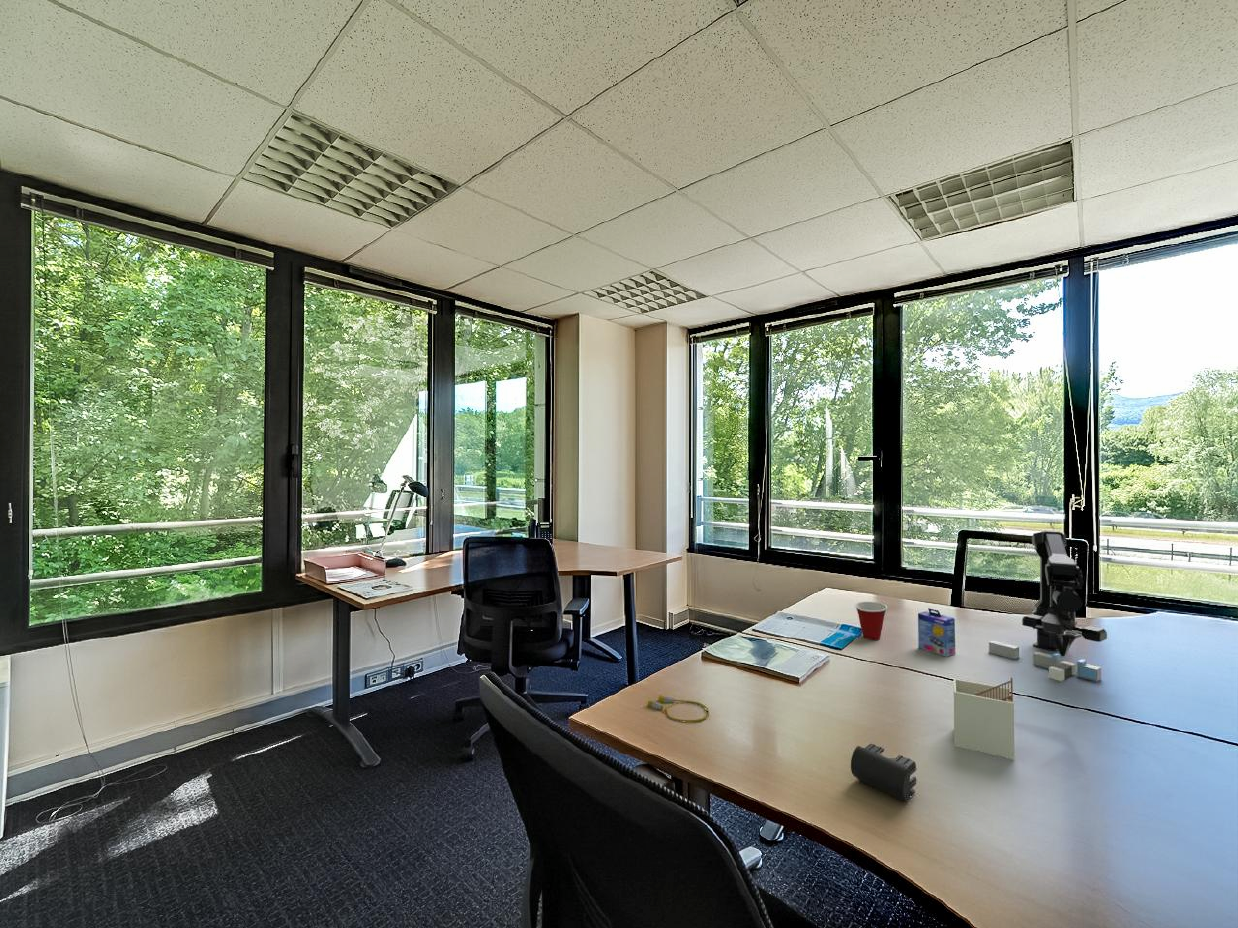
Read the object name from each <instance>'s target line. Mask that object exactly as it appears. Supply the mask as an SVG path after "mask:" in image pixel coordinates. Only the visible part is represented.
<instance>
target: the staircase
mask: <svg viewBox="0 0 1238 928" xmlns="http://www.w3.org/2000/svg"><path fill="white" fill-rule="evenodd" d="M1013 682H1014V680H1013V677H1010V680H1009V681H1006V682H1004V683H1001V684H999V685H991V684H985V683H980V682H974V681H971V680H964V679H963V680H962V679H958V678H953V736H954V737H953V739H954V741H953V742H954V747H958V748H963V749H965V750H966V749H967V750H970V751H974V752H978V751H980V753H983V752H984V753H983V754H987V753H989V754H988V755H991V754H993V756H996V755H999V756H998V757H1000V756H1003V757H1002V758H1004V757H1008V758H1012V759H1011V760H1013V759H1015V758H1016V757H1015V703H1014V698H1013V697H1014V695H1013V693H1014V689H1013V688H1014V686H1013V685H1014V683H1013ZM1009 685H1010V687H1009ZM1006 686H1007V687H1006ZM1008 758H1007V759H1008Z"/></svg>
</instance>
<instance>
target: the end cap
mask: <svg viewBox="0 0 1238 928" xmlns="http://www.w3.org/2000/svg"><path fill="white" fill-rule="evenodd" d="M883 752H885V748H884V747H881V746H878V745H876V744H873V743H869V744H868V745H866V746H865V747H863V746H860V745H857V746H856V747H855V749H854V750H853V753H852V756H851V759H850V770H851V774H852V775H853V777H855V778H856V779H857V780H858V781H861V783H862V782H863V783H864V784H866V785H868V786H870V787H873V788H875V789H877V790H880V791H882V792H884V793H886V794H888V795H890V796H893V797H894V796H895V798H896V799H898V800H901V801H903V802H905V801H906V802H908V801H909V800H910V799H911V798H910V796H912V795H913V794H914V793H915V794H916V790H915V789H916V788H914V787H915V786H916V784H917V782H918V781H917V777H916V776H912V775H913V774H914V773H916V771H917V764H916V762H915V761H914V760H913V759H911V758H910V757H909V758H908V757H905V756H903V754H902V755H901V754H898V755H897V756H896V757H893V758H891V757H886V756H884V755H882V753H883ZM911 776H912V777H911ZM915 794H914V795H915ZM914 795H913V796H914ZM913 796H912V797H913ZM907 800H908V801H907Z"/></svg>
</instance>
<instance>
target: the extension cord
mask: <svg viewBox="0 0 1238 928" xmlns="http://www.w3.org/2000/svg"><path fill="white" fill-rule="evenodd" d="M673 702H674V703H673ZM676 702H677V703H676ZM684 702H690V703H689V704H694V703H696V705H698V704H699V705H698V706H700V705H701V706H702V708H703V709H704V708H706V709H707V711H708V713H707V714H706V715H705V716H704V717H702V718H698V719H697V718H696V719H680V718H676V717H675V718H674V717H672V716H670V715H669V712H668V708H670V707H671V708H672V707H674V706H675V704H676V705H679V703H680V704H685V703H684ZM663 704H669V705H668V706H666V708H665V709H664V705H663ZM701 706H700V707H701ZM647 707H648V708H652V709H655V710H661V711H662V712H663V714H664V715H666V716H667V717H668V718H669V719H670V718H671V720H672V719H673V721H676V720H677V722H680V721H685V722H684V723H686V722H695V723H699V722H698V721H700V722H703V721H705V720H707V719H708V718H709V717H710V710H709V708H708V707H707V706H706V705H705V704H703V703H701V702H698V701H693V700H685V699H675V698H674V697H671V696H666V695H665V696H663V695H659V696H658V702H657V701H652V700H648V701H647ZM707 711H706V712H707ZM707 717H708V718H707ZM706 718H707V719H706ZM704 719H705V720H704ZM702 720H703V721H702Z"/></svg>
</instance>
